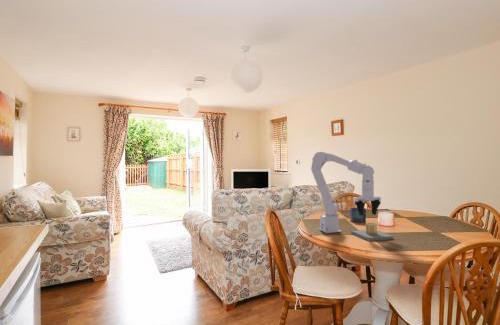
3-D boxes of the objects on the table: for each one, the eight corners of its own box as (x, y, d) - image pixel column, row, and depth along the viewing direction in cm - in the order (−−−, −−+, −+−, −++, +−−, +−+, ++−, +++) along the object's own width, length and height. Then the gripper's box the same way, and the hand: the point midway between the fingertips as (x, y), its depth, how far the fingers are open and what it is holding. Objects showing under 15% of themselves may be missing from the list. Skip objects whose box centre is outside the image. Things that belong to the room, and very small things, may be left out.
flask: (349, 221, 177) (350, 204, 177) (350, 220, 180) (350, 204, 180) (365, 223, 173) (365, 205, 173) (365, 222, 176) (365, 205, 176)
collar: (370, 235, 140) (370, 225, 140) (363, 232, 145) (363, 222, 145) (379, 234, 141) (379, 224, 141) (372, 231, 146) (372, 222, 146)
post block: (368, 241, 134) (368, 228, 134) (351, 233, 148) (351, 222, 148) (393, 239, 138) (393, 227, 138) (374, 232, 151) (374, 220, 151)
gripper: (360, 190, 141) (360, 217, 141) (385, 189, 144) (384, 215, 144) (352, 188, 147) (351, 214, 148) (375, 188, 151) (375, 213, 151)
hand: (367, 214), depth 146 cm, fingers open, 7 cm apart
